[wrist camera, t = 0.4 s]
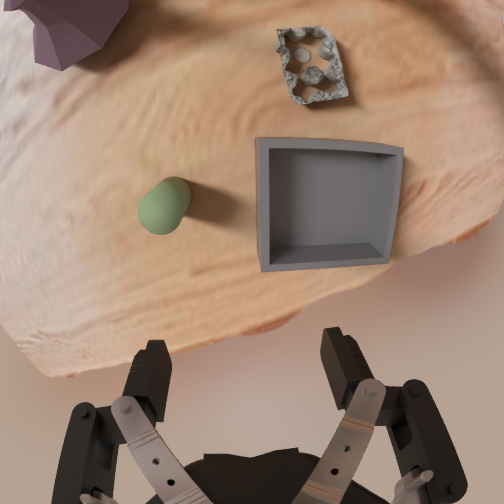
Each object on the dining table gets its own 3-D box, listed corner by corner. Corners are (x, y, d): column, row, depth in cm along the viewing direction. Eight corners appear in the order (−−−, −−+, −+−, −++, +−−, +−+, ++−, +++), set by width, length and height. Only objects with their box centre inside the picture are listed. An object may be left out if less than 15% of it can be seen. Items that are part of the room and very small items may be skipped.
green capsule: (154, 178, 34) (134, 193, 27) (190, 175, 34) (179, 188, 27) (158, 214, 36) (141, 236, 29) (193, 211, 37) (184, 233, 29)
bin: (254, 137, 33) (259, 139, 27) (381, 143, 34) (403, 148, 28) (257, 251, 40) (261, 272, 34) (370, 245, 41) (388, 263, 35)
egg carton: (268, 35, 27) (273, 25, 23) (323, 31, 27) (332, 22, 23) (287, 107, 32) (294, 105, 28) (340, 101, 31) (353, 98, 28)
